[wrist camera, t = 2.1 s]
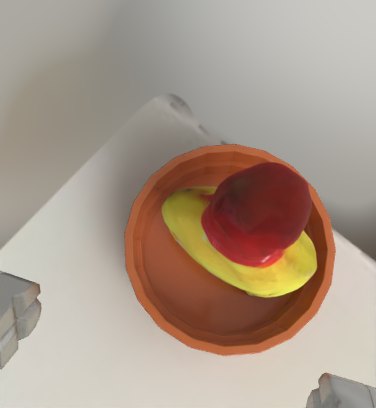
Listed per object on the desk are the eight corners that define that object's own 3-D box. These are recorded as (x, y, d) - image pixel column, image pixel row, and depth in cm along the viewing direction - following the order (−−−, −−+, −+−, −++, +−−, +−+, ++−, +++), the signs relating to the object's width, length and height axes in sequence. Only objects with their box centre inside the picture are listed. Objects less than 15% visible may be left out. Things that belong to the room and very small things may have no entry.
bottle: (153, 243, 32) (109, 182, 13) (188, 189, 34) (195, 61, 14) (261, 311, 31) (393, 356, 12) (293, 252, 32) (458, 205, 13)
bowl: (99, 279, 32) (82, 278, 27) (192, 136, 36) (194, 111, 31) (257, 381, 30) (273, 402, 25) (339, 220, 34) (368, 208, 29)
